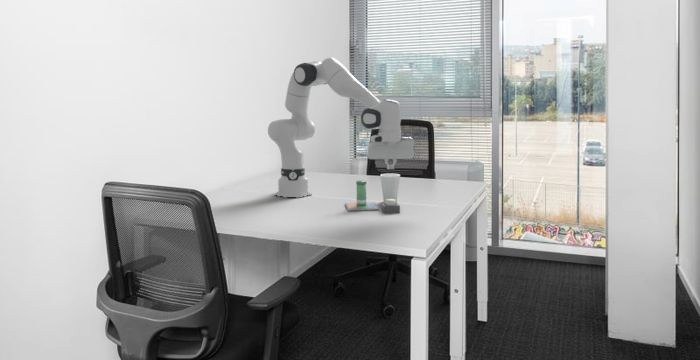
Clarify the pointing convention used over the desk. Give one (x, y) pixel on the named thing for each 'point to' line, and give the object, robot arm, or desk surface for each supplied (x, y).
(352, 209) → the picture board
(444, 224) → the desk surface
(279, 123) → the robot arm
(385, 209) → the button collar
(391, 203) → the button
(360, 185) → the green canister
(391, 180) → the translucent tapered cup
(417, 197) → the desk surface
